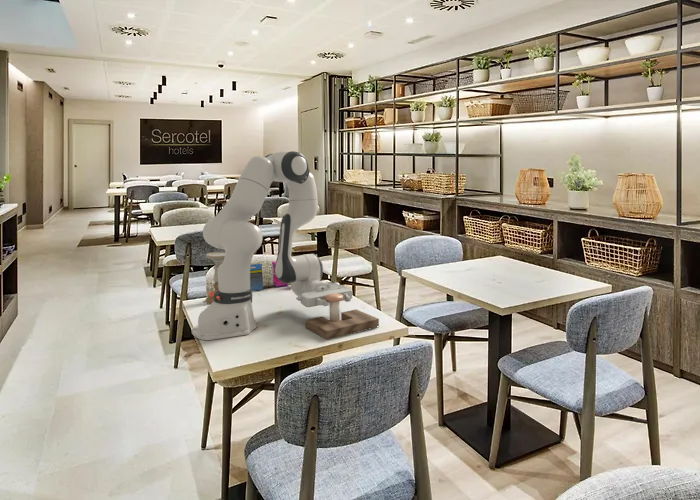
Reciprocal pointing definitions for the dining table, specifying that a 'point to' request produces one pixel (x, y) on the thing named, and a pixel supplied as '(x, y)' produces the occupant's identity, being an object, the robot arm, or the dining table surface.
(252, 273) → the label tape cartridge
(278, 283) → the supplement box
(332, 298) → the bobbin
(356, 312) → the notched board
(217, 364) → the dining table surface
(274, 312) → the dining table surface
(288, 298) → the dining table surface
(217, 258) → the candle holder
